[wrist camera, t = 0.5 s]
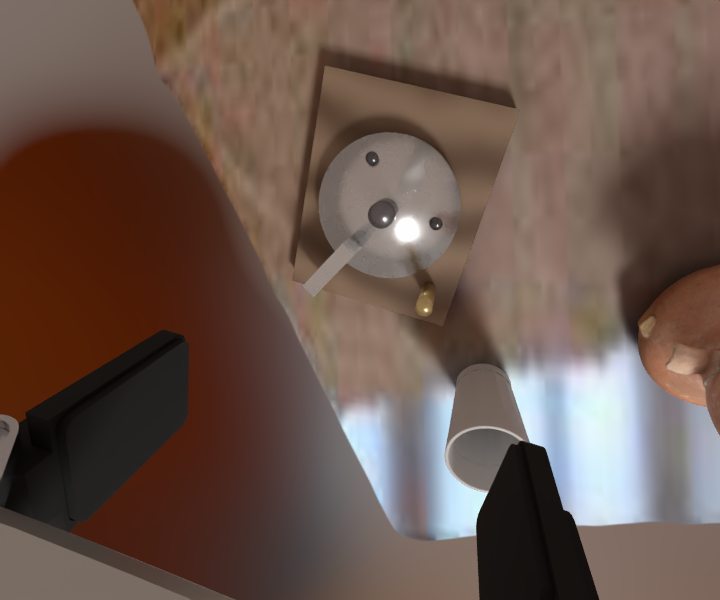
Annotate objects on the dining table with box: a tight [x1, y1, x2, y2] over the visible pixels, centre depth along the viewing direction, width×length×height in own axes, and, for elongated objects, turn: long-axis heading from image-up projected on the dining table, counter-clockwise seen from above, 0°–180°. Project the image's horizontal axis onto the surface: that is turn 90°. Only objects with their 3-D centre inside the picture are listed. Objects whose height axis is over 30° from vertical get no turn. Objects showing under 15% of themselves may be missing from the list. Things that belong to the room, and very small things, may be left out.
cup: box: [445, 364, 530, 493], centre depth 41 cm, size 8×8×12 cm
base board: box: [292, 66, 520, 327], centre depth 40 cm, size 22×18×2 cm
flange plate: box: [302, 132, 460, 297], centre depth 38 cm, size 18×14×4 cm
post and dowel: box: [368, 198, 436, 317], centre depth 38 cm, size 12×2×6 cm, turn 30°
